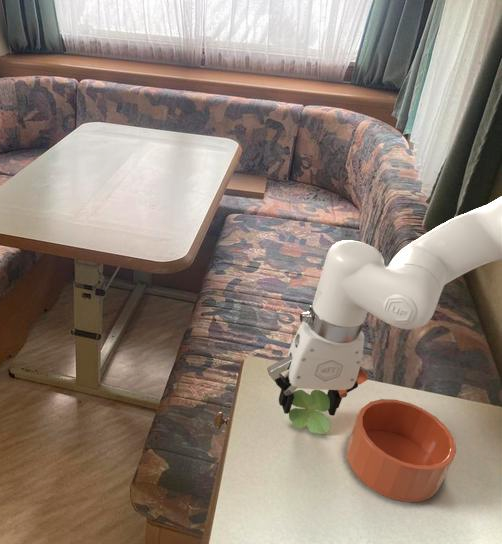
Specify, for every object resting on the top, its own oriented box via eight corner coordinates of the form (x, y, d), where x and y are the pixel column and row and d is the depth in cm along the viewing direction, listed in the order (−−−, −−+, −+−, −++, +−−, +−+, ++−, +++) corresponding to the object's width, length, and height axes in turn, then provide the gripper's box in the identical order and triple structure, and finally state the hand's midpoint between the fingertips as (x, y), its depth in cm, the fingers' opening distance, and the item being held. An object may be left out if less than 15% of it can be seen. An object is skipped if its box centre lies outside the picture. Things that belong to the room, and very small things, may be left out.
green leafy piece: (303, 434, 98) (307, 444, 92) (275, 394, 99) (277, 402, 93) (338, 411, 97) (345, 420, 91) (310, 371, 98) (314, 378, 92)
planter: (416, 431, 93) (430, 400, 90) (456, 503, 82) (474, 470, 78) (335, 429, 93) (345, 397, 89) (364, 501, 82) (377, 468, 78)
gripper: (282, 335, 81) (258, 423, 90) (402, 341, 82) (366, 428, 91) (271, 303, 87) (250, 389, 97) (383, 309, 88) (351, 394, 98)
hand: (307, 407), depth 94 cm, fingers open, 6 cm apart
